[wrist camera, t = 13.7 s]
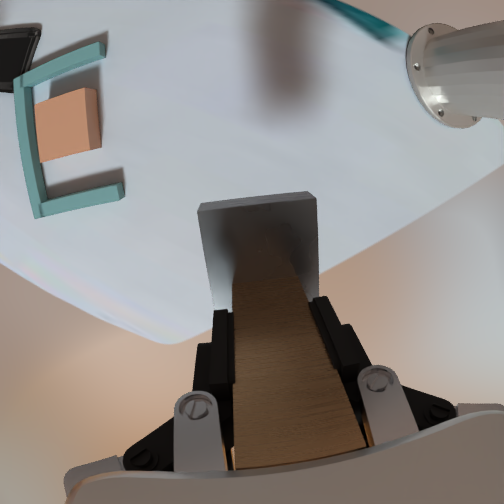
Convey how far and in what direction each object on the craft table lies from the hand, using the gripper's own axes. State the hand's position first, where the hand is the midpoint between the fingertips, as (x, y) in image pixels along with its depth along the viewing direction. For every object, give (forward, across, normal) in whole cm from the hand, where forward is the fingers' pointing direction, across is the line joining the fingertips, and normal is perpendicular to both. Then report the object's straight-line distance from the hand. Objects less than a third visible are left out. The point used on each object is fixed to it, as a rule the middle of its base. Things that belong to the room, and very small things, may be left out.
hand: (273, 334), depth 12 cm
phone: (+20, +28, -24) cm, 42 cm away
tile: (+19, +16, -11) cm, 28 cm away
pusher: (+4, 0, 0) cm, 4 cm away
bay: (+19, +17, -11) cm, 28 cm away
